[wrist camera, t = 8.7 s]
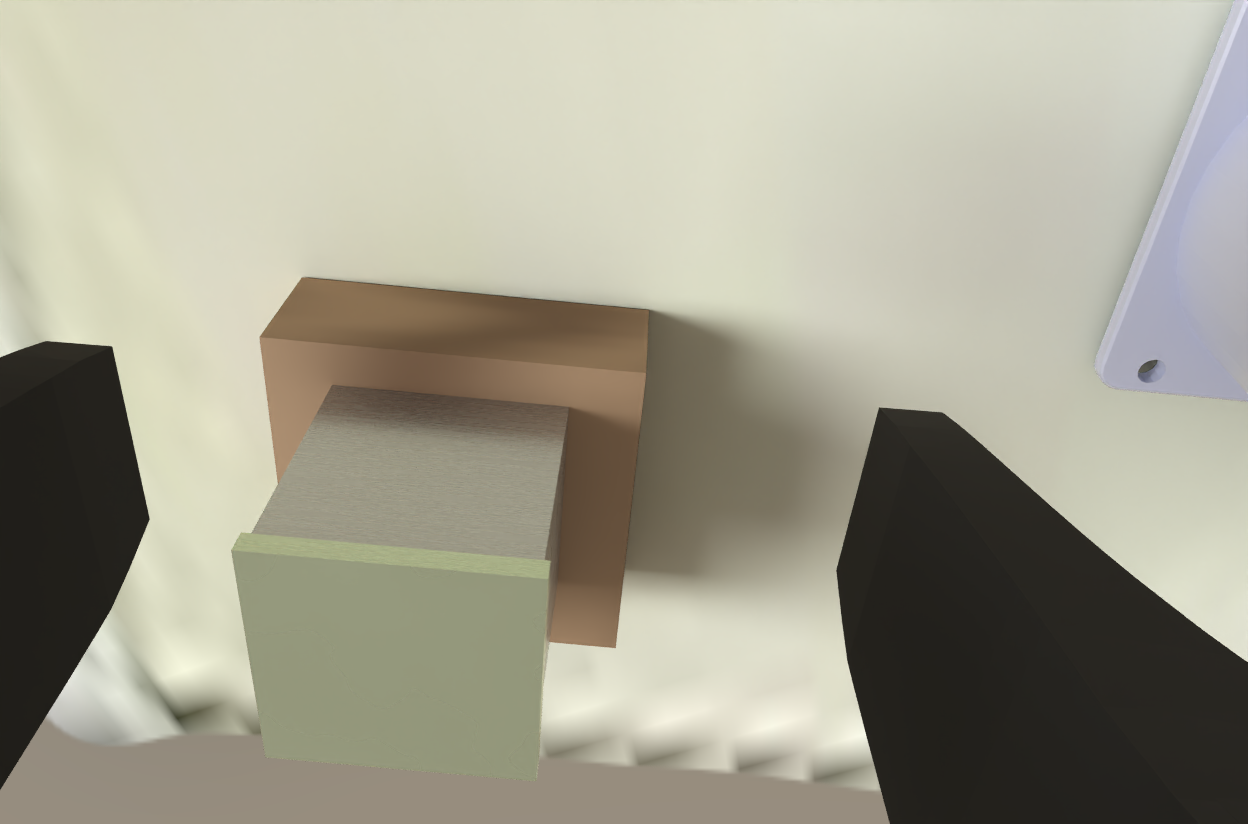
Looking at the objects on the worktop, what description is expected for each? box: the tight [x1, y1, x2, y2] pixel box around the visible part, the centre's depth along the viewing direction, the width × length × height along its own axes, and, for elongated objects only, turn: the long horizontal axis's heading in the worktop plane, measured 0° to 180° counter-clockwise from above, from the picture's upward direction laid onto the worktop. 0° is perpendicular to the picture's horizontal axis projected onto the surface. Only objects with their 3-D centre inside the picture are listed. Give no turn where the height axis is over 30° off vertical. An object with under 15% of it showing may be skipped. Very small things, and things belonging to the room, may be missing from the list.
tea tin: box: [231, 385, 569, 781], centre depth 18 cm, size 5×5×5 cm
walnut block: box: [260, 278, 649, 648], centre depth 21 cm, size 7×7×2 cm
